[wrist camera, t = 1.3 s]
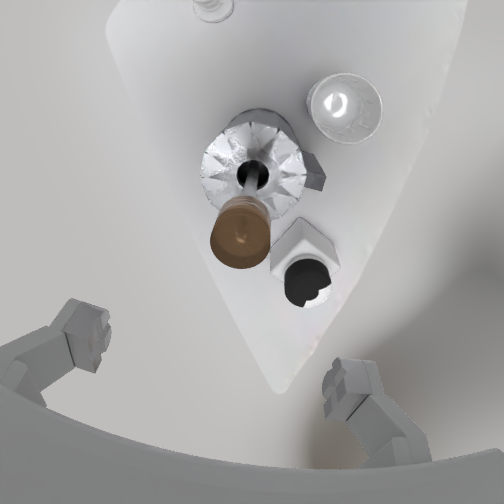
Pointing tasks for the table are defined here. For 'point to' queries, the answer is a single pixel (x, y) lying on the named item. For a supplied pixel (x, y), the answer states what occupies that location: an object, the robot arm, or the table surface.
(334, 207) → the table surface
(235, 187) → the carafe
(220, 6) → the chess pawn
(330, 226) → the table surface
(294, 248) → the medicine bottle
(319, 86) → the white cup
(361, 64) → the table surface
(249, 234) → the plunger
